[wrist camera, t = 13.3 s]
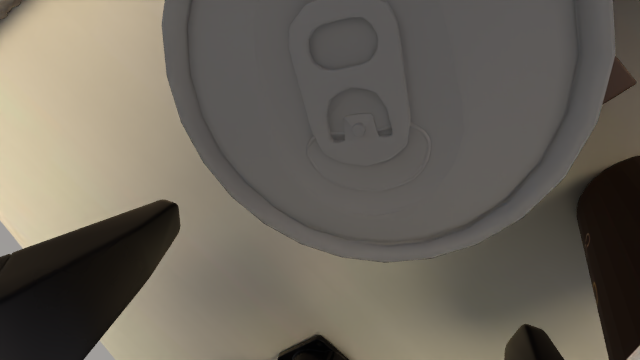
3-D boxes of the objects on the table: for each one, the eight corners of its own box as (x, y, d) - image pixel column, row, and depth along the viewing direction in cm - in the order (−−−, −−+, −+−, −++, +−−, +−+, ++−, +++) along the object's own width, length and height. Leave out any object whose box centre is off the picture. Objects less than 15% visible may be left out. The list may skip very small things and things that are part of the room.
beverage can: (373, 73, 16) (234, 266, 6) (350, -58, 14) (71, -100, 4) (499, 50, 14) (607, 277, 4) (495, -105, 12) (703, -431, 2)
